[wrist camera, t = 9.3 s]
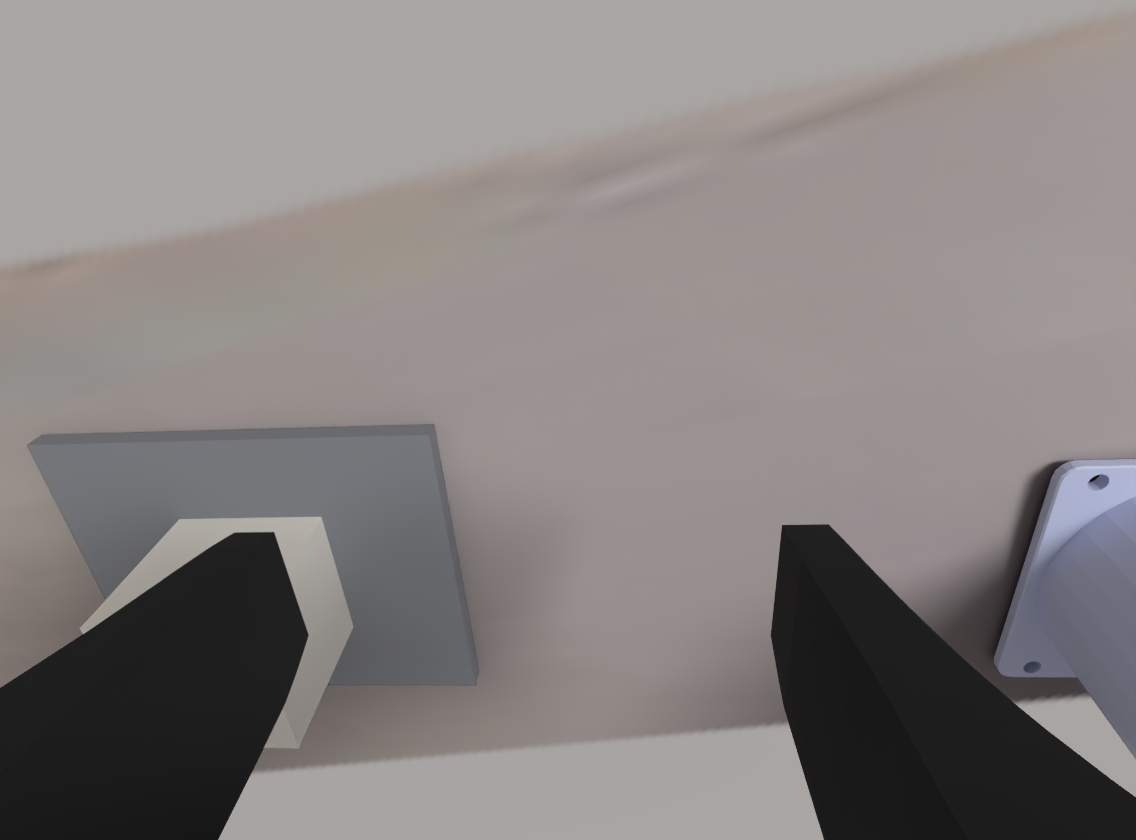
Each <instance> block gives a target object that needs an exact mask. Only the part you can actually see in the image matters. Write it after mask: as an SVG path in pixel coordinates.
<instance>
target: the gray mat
mask: <svg viewBox="0 0 1136 840" xmlns="http://www.w3.org/2000/svg"><path fill="white" fill-rule="evenodd" d="M27 447H28V449H29V451H30V453H31V455H32V457H33V459H34V461H35V463H36V465H37V467H38V468H39V470H40V472H41V474H42V476H43V478H44V480H45V482H46V484H47V486H48V488H49V490H50V492H51V494H52V496H53V498H54V500H55V502H56V504H57V506H58V508H59V510H60V512H61V514H62V516H63V518H64V519H65V521H66V523H67V525H68V527H69V529H70V531H71V533H72V535H73V537H74V539H75V541H76V543H77V545H78V547H79V549H80V551H81V553H82V555H83V557H84V559H85V561H86V563H87V565H88V567H89V569H90V570H91V572H92V574H93V576H94V578H95V580H96V582H97V584H98V586H99V588H100V590H101V592H102V594H103V596H104V598H105V600H106V599H107V598H108V597H109V596H110V595H111V594H112V592H113V591H114V590H115V589H116V588H117V587H118V586H119V585H120V584H121V583H122V581H123V580H124V579H125V578H126V577H127V576H128V575H129V574H130V573H131V572H132V570H133V569H134V568H135V567H136V566H137V565H138V564H139V563H140V562H141V561H142V560H143V558H144V557H145V556H146V555H147V554H148V553H149V552H150V551H151V550H152V549H153V547H154V546H155V545H156V544H157V543H158V542H159V541H160V540H161V539H162V538H163V537H164V535H165V534H166V533H167V532H168V531H169V530H170V529H171V528H172V527H173V526H174V524H175V523H176V522H177V521H178V520H179V519H215V518H273V517H322V521H323V524H324V528H325V531H326V535H327V538H328V541H329V545H330V548H331V552H332V555H333V558H334V562H335V565H336V569H337V572H338V575H339V579H340V582H341V586H342V589H343V592H344V596H345V599H346V603H347V606H348V610H349V613H350V616H351V620H352V623H353V629H352V631H351V633H350V636H349V638H348V640H347V642H346V645H345V647H344V649H343V651H342V653H341V656H340V658H339V660H338V662H337V665H336V667H335V669H334V671H333V673H332V676H331V678H330V680H329V682H328V685H459V686H476V682H477V677H478V673H479V671H478V665H477V660H476V654H475V648H474V643H473V637H472V632H471V626H470V621H469V615H468V610H467V604H466V599H465V593H464V588H463V582H462V576H461V571H460V565H459V560H458V554H457V549H456V543H455V538H454V532H453V527H452V521H451V516H450V510H449V504H448V499H447V493H446V488H445V482H444V477H443V471H442V466H441V460H440V455H439V449H438V444H437V438H436V432H435V427H434V424H430V425H393V426H356V427H319V428H282V429H245V430H208V431H171V432H134V433H97V434H60V435H41V436H39V437H38V438H37V439H35V440H34V441H32V442H31V443H29V444H28V445H27Z"/></svg>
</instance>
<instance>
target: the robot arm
mask: <svg viewBox="0 0 1136 840" xmlns="http://www.w3.org/2000/svg"><path fill="white" fill-rule="evenodd" d="M1096 475H1099V477H1098V478H1097V479H1096V480H1094V481H1093V482H1089V481H1090V479H1091V478H1093V477H1094V476H1096ZM308 636H309V635H308V632H307V629H306V626H305V623H304V620H303V617H302V614H301V611H300V608H299V605H298V602H297V599H296V596H295V593H294V590H293V587H292V584H291V581H290V578H289V575H288V572H287V569H286V566H285V563H284V560H283V557H282V554H281V551H280V548H279V545H278V542H277V539H276V536H275V533H274V532H235V533H233V534H231V535H229V536H228V537H226V538H224V539H223V540H221V541H219V542H218V543H216V544H214V545H213V546H211V547H210V548H208V549H207V550H205V551H204V552H202V553H201V554H199V555H198V556H196V557H195V558H193V559H192V560H190V561H189V562H187V563H186V564H184V565H183V566H182V567H180V568H179V569H177V570H176V571H174V572H173V573H171V574H170V575H168V576H167V577H166V578H164V579H163V580H161V581H160V582H158V583H157V584H156V585H154V586H153V587H151V588H150V589H148V590H147V591H145V592H144V593H143V594H141V595H140V596H138V597H137V598H135V599H134V600H132V601H131V602H130V603H128V604H127V605H125V606H124V607H122V608H121V609H119V610H118V611H116V612H115V613H114V614H112V615H111V616H109V617H108V618H106V619H105V620H103V621H102V622H101V623H99V624H98V625H96V626H95V627H93V628H92V629H90V630H89V631H87V632H86V633H84V634H83V635H81V636H80V637H78V638H77V639H75V640H74V641H72V642H71V643H69V644H67V645H66V646H64V647H63V648H61V649H60V650H58V651H57V652H55V653H54V654H52V655H51V656H49V657H47V658H46V659H44V660H43V661H41V662H40V663H38V664H37V665H35V666H34V667H32V668H30V669H29V670H27V671H26V672H24V673H23V674H21V675H20V676H18V677H17V678H15V679H13V680H12V681H10V682H9V683H7V684H6V685H4V686H3V687H1V688H0V840H218V839H219V837H220V835H221V833H222V831H223V829H224V827H225V825H226V822H227V821H228V819H229V816H230V815H231V813H232V811H233V809H234V807H235V805H236V803H237V801H238V799H239V797H240V795H241V793H242V791H243V788H244V787H245V785H246V783H247V781H248V779H249V777H250V775H251V773H252V771H253V769H254V767H255V765H256V763H257V761H258V759H259V757H260V755H261V753H262V751H263V749H264V746H265V744H266V742H267V740H268V738H269V736H270V734H271V732H272V730H273V728H274V726H275V724H276V722H277V720H278V718H279V716H280V714H281V711H282V709H283V707H284V705H285V703H286V701H287V698H288V695H289V692H290V690H291V687H292V684H293V681H294V679H295V676H296V673H297V670H298V667H299V664H300V661H301V658H302V655H303V652H304V649H305V645H306V642H307V639H308ZM771 638H772V644H773V650H774V656H775V661H776V667H777V673H778V678H779V683H780V689H781V694H782V699H783V705H784V708H785V712H786V715H787V719H788V722H789V725H790V729H791V732H792V735H793V739H794V742H795V745H796V749H797V752H798V755H799V759H800V762H801V765H802V768H803V772H804V775H805V779H806V782H807V785H808V788H809V791H810V795H811V798H812V801H813V805H814V808H815V811H816V815H817V818H818V821H819V824H820V828H821V831H822V834H823V837H824V840H1136V797H1134V796H1133V795H1132V794H1130V793H1129V792H1128V791H1126V790H1125V789H1123V788H1122V787H1121V786H1119V785H1118V784H1116V783H1115V782H1114V781H1112V780H1111V779H1110V778H1109V777H1107V776H1106V775H1104V774H1103V773H1102V772H1101V771H1099V770H1098V769H1097V768H1095V767H1094V766H1093V765H1092V764H1090V763H1089V762H1088V761H1086V760H1085V759H1084V758H1082V757H1081V756H1080V755H1078V754H1077V753H1076V752H1074V751H1073V750H1072V749H1071V748H1069V747H1068V746H1066V744H1064V743H1063V742H1062V741H1060V740H1059V739H1058V738H1056V737H1055V736H1054V735H1052V734H1051V733H1050V732H1048V731H1047V730H1046V729H1045V728H1044V727H1042V726H1041V725H1040V724H1039V723H1037V722H1036V721H1035V720H1034V719H1033V718H1031V717H1030V716H1029V715H1028V714H1026V713H1025V712H1024V711H1023V710H1022V709H1020V708H1019V707H1018V706H1017V705H1015V704H1014V703H1013V702H1012V701H1011V700H1010V699H1009V698H1007V697H1006V696H1005V695H1004V694H1003V693H1002V692H1000V691H999V690H998V689H997V688H996V687H995V686H994V685H992V684H991V683H990V682H989V681H988V680H987V679H985V678H984V677H983V676H982V675H981V674H980V673H979V672H977V671H976V670H975V669H974V668H973V667H972V666H971V665H970V664H968V663H967V662H966V661H965V660H964V659H963V658H962V657H961V656H960V655H959V654H958V653H956V652H955V651H954V650H953V649H952V648H951V647H950V646H949V645H948V644H947V643H946V642H945V641H944V640H943V639H942V638H941V637H940V636H939V635H937V634H936V633H935V632H934V631H933V630H932V629H931V628H930V627H929V626H928V625H927V624H926V623H925V622H924V621H923V620H922V619H921V618H920V617H919V616H918V615H917V614H916V613H915V612H913V611H912V610H911V609H910V608H909V607H908V606H907V605H906V604H905V603H904V602H903V601H902V600H901V599H900V598H899V597H898V596H897V595H896V594H895V593H894V592H893V591H892V589H891V588H890V587H889V586H888V585H887V584H886V583H885V582H884V581H883V580H882V579H881V578H880V577H879V576H878V575H877V574H876V573H875V572H874V571H873V570H872V569H871V568H870V567H869V566H868V565H867V564H866V563H865V562H864V561H863V560H862V558H861V557H860V556H859V555H858V554H857V553H856V552H855V551H854V550H853V549H852V548H851V547H850V546H849V545H848V544H847V543H846V542H845V541H844V540H843V539H842V538H841V537H840V536H839V535H838V534H837V533H836V531H834V530H833V529H832V528H831V527H830V526H829V525H782V532H781V542H780V552H779V561H778V571H777V581H776V591H775V601H774V611H773V620H772V630H771ZM994 664H995V666H996V667H997V669H998V671H999V672H1000V674H1002V675H1004V676H1007V677H1074V678H1078V679H1079V681H1080V682H1081V684H1082V685H1083V686H1084V688H1085V689H1086V690H1087V692H1088V693H1089V695H1090V696H1091V697H1092V699H1093V700H1094V702H1095V703H1096V704H1097V706H1098V707H1099V709H1100V710H1101V711H1102V713H1103V714H1104V716H1105V717H1106V718H1107V720H1108V721H1109V723H1110V724H1111V725H1112V727H1113V728H1114V730H1115V731H1116V732H1117V734H1118V735H1119V736H1120V738H1121V739H1122V741H1123V742H1124V743H1125V745H1126V746H1127V748H1128V749H1129V750H1130V752H1131V753H1132V755H1133V756H1134V757H1135V759H1136V459H1117V460H1076V461H1070V462H1067V463H1065V464H1063V465H1061V466H1060V467H1059V468H1057V469H1056V470H1055V472H1054V474H1053V475H1052V478H1051V481H1050V484H1049V487H1048V490H1047V493H1046V497H1045V500H1044V503H1043V506H1042V509H1041V512H1040V515H1039V518H1038V522H1037V525H1036V528H1035V531H1034V534H1033V537H1032V540H1031V544H1030V547H1029V550H1028V553H1027V556H1026V559H1025V562H1024V565H1023V569H1022V572H1021V575H1020V578H1019V581H1018V584H1017V587H1016V591H1015V594H1014V597H1013V600H1012V603H1011V606H1010V609H1009V612H1008V616H1007V619H1006V622H1005V625H1004V628H1003V631H1002V634H1001V638H1000V641H999V644H998V647H997V650H996V653H995V656H994Z"/></svg>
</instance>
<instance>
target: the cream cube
mask: <svg viewBox="0 0 1136 840" xmlns="http://www.w3.org/2000/svg"><path fill="white" fill-rule="evenodd" d="M235 532H274V533H275V536H276V539H277V542H278V545H279V548H280V551H281V554H282V557H283V560H284V563H285V566H286V569H287V572H288V575H289V578H290V581H291V584H292V587H293V590H294V593H295V596H296V599H297V602H298V605H299V608H300V611H301V614H302V617H303V620H304V623H305V626H306V629H307V632H308V635H309V636H308V639H307V642H306V645H305V649H304V652H303V655H302V658H301V661H300V664H299V667H298V670H297V673H296V676H295V679H294V681H293V684H292V687H291V690H290V692H289V695H288V698H287V701H286V703H285V705H284V707H283V709H282V711H281V714H280V716H279V718H278V720H277V722H276V724H275V726H274V728H273V730H272V732H271V734H270V736H269V738H268V740H267V742H266V744H265V746H264V748H299V747H300V745H301V742H302V740H303V738H304V736H305V733H306V731H307V729H308V727H309V725H310V722H311V720H312V718H313V716H314V713H315V711H316V709H317V707H318V705H319V702H320V700H321V698H322V696H323V693H324V691H325V689H326V687H327V685H328V682H329V680H330V678H331V676H332V673H333V671H334V669H335V667H336V665H337V662H338V660H339V658H340V656H341V653H342V651H343V649H344V647H345V645H346V642H347V640H348V638H349V636H350V633H351V631H352V629H353V623H352V620H351V616H350V613H349V610H348V606H347V603H346V599H345V596H344V592H343V589H342V586H341V582H340V579H339V575H338V572H337V569H336V565H335V562H334V558H333V555H332V552H331V548H330V545H329V541H328V538H327V535H326V531H325V528H324V524H323V521H322V517H273V518H215V519H179V520H178V521H177V522H176V523H175V524H174V526H173V527H172V528H171V529H170V530H169V531H168V532H167V533H166V534H165V535H164V537H163V538H162V539H161V540H160V541H159V542H158V543H157V544H156V545H155V546H154V547H153V549H152V550H151V551H150V552H149V553H148V554H147V555H146V556H145V557H144V558H143V560H142V561H141V562H140V563H139V564H138V565H137V566H136V567H135V568H134V569H133V570H132V572H131V573H130V574H129V575H128V576H127V577H126V578H125V579H124V580H123V581H122V583H121V584H120V585H119V586H118V587H117V588H116V589H115V590H114V591H113V592H112V594H111V595H110V596H109V597H108V598H107V599H106V600H105V601H104V602H103V603H102V604H101V606H100V607H99V608H98V609H97V610H96V611H95V612H94V613H93V614H92V615H91V617H90V618H89V619H88V620H87V621H86V622H85V623H84V624H83V625H82V626H81V627H80V630H81V632H82V634H84V633H86V632H87V631H89V630H90V629H92V628H93V627H95V626H96V625H98V624H99V623H101V622H102V621H103V620H105V619H106V618H108V617H109V616H111V615H112V614H114V613H115V612H116V611H118V610H119V609H121V608H122V607H124V606H125V605H127V604H128V603H130V602H131V601H132V600H134V599H135V598H137V597H138V596H140V595H141V594H143V593H144V592H145V591H147V590H148V589H150V588H151V587H153V586H154V585H156V584H157V583H158V582H160V581H161V580H163V579H164V578H166V577H167V576H168V575H170V574H171V573H173V572H174V571H176V570H177V569H179V568H180V567H182V566H183V565H184V564H186V563H187V562H189V561H190V560H192V559H193V558H195V557H196V556H198V555H199V554H201V553H202V552H204V551H205V550H207V549H208V548H210V547H211V546H213V545H214V544H216V543H218V542H219V541H221V540H223V539H224V538H226V537H228V536H229V535H231V534H233V533H235Z"/></svg>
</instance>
